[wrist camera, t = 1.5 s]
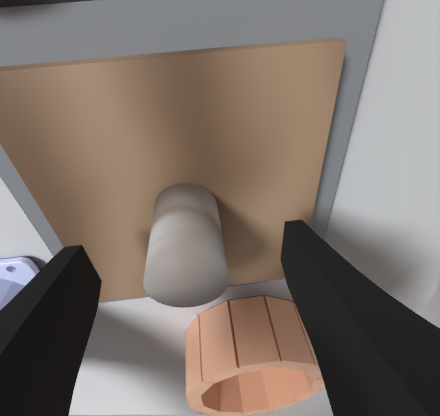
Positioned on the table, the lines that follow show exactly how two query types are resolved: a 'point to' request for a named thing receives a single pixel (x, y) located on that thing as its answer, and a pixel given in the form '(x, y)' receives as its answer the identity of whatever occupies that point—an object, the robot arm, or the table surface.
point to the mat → (190, 40)
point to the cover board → (175, 159)
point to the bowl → (249, 358)
